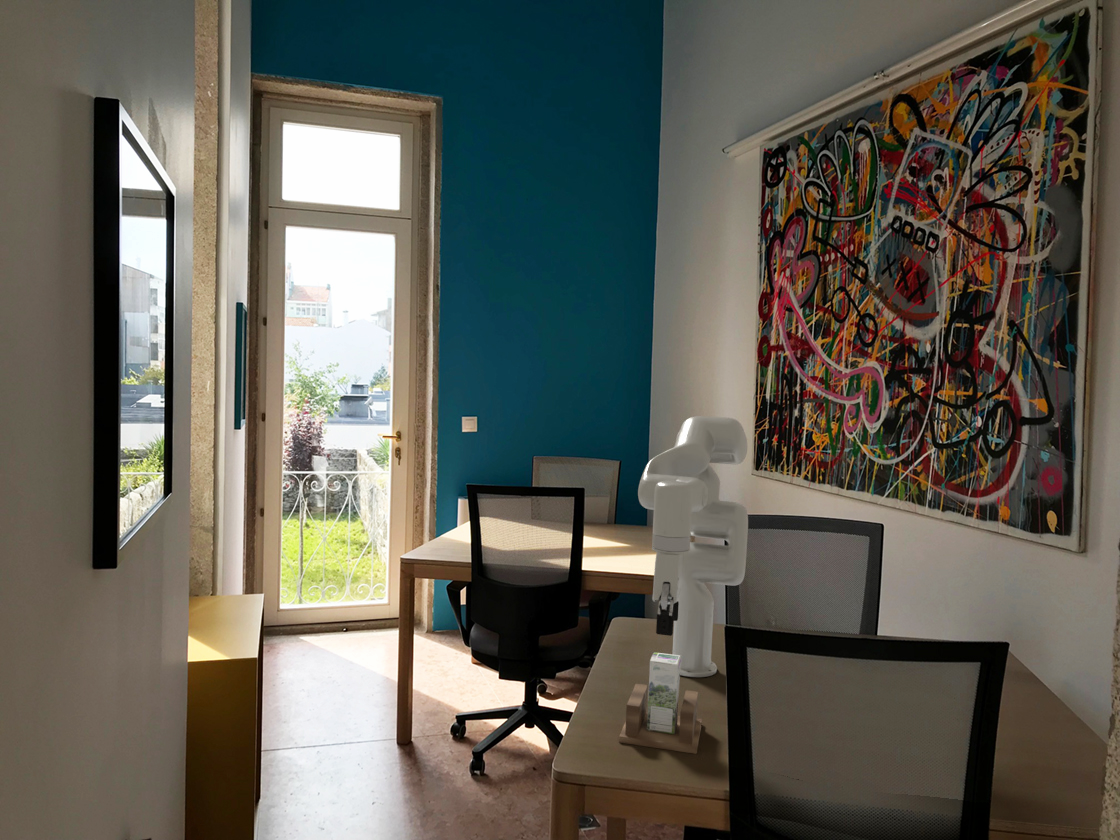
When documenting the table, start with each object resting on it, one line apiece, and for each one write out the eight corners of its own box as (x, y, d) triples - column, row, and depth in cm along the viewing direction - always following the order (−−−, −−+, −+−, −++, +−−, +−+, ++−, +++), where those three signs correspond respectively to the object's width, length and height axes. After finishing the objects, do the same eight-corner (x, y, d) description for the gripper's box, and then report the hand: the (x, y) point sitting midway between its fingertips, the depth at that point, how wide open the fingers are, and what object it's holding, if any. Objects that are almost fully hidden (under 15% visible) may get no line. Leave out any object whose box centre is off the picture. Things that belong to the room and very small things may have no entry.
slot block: (630, 714, 172) (631, 681, 172) (701, 724, 168) (703, 690, 168) (619, 742, 158) (620, 706, 158) (696, 753, 155) (698, 716, 155)
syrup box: (677, 723, 165) (681, 654, 165) (674, 735, 160) (678, 663, 159) (650, 719, 167) (653, 650, 166) (645, 731, 161) (649, 659, 160)
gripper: (657, 533, 171) (654, 612, 172) (646, 550, 154) (642, 638, 155) (693, 536, 169) (689, 616, 170) (686, 554, 152) (681, 643, 154)
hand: (667, 627), depth 163 cm, fingers open, 9 cm apart
